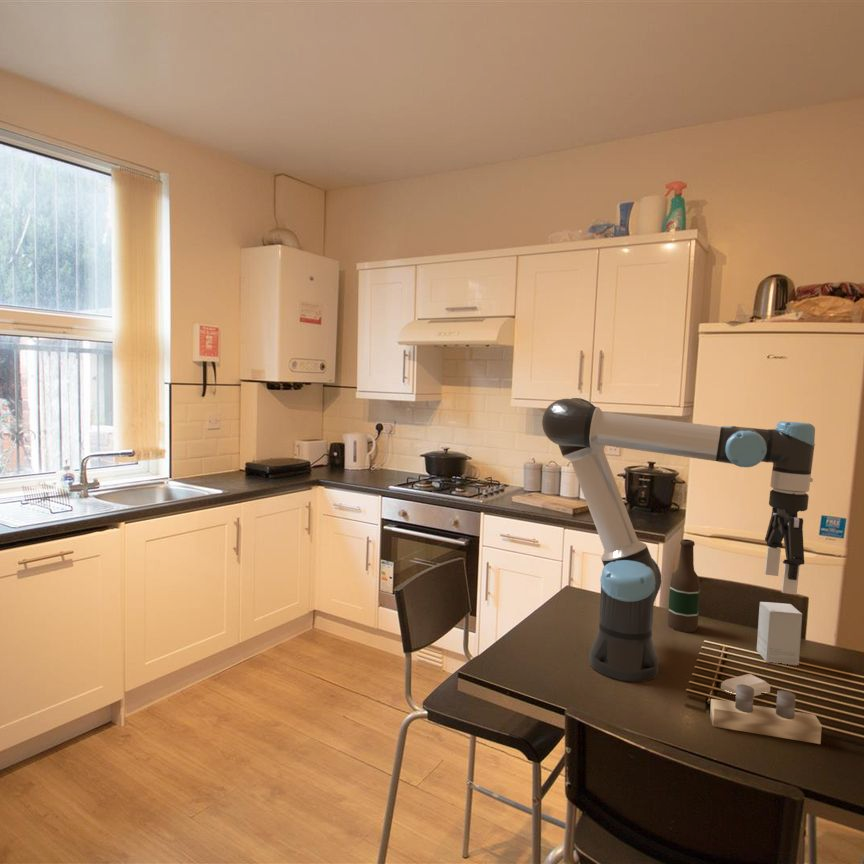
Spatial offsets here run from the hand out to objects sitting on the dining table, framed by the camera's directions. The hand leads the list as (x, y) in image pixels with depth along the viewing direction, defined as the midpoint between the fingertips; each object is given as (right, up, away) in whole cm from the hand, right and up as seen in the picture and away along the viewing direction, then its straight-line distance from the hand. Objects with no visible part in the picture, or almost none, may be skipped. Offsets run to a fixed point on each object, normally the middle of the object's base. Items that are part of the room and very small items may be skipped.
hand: (779, 583), depth 139 cm
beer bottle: (-11, -19, +28) cm, 35 cm away
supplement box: (+5, -21, +10) cm, 24 cm away
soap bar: (-11, -22, -7) cm, 26 cm away
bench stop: (-16, -22, -22) cm, 35 cm away
